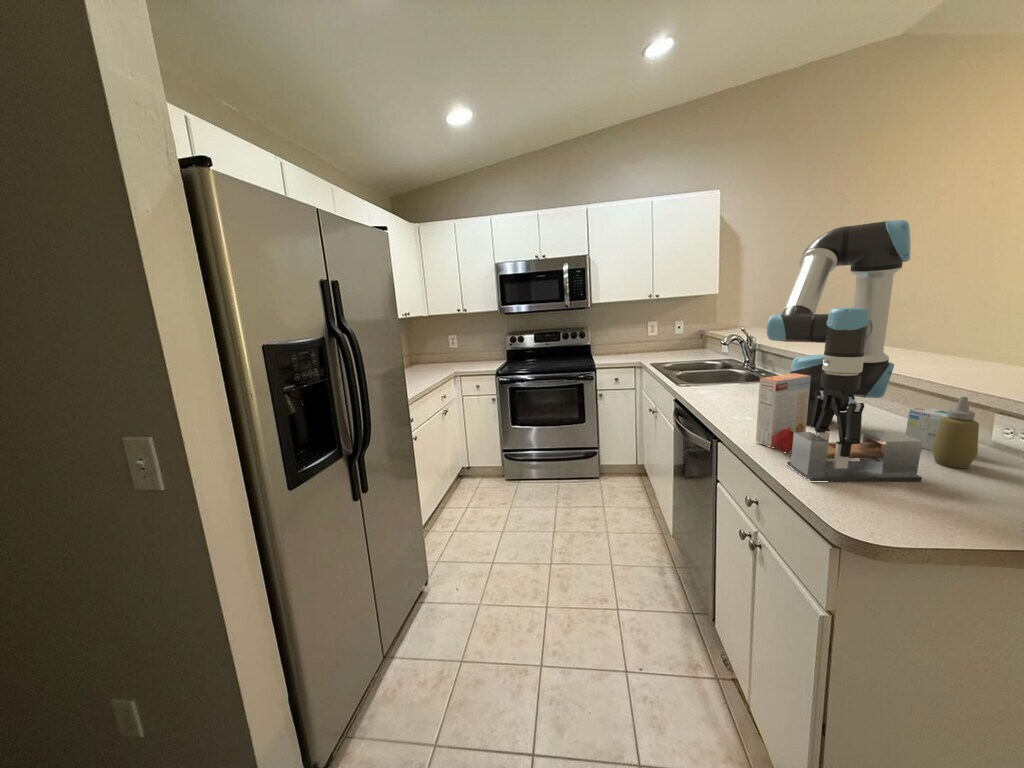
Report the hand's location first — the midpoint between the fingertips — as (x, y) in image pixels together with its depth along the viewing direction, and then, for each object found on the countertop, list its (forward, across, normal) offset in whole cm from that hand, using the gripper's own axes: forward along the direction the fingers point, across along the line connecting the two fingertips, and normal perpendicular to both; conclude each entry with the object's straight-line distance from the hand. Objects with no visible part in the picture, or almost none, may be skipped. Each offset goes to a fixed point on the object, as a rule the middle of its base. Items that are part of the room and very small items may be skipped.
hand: (829, 461), depth 102 cm
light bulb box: (+3, -17, +39) cm, 43 cm away
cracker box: (+3, -23, 0) cm, 23 cm away
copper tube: (-1, 0, +3) cm, 3 cm away
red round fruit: (+3, -14, -3) cm, 15 cm away
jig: (+3, 0, +5) cm, 6 cm away
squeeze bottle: (+3, -5, +33) cm, 34 cm away
